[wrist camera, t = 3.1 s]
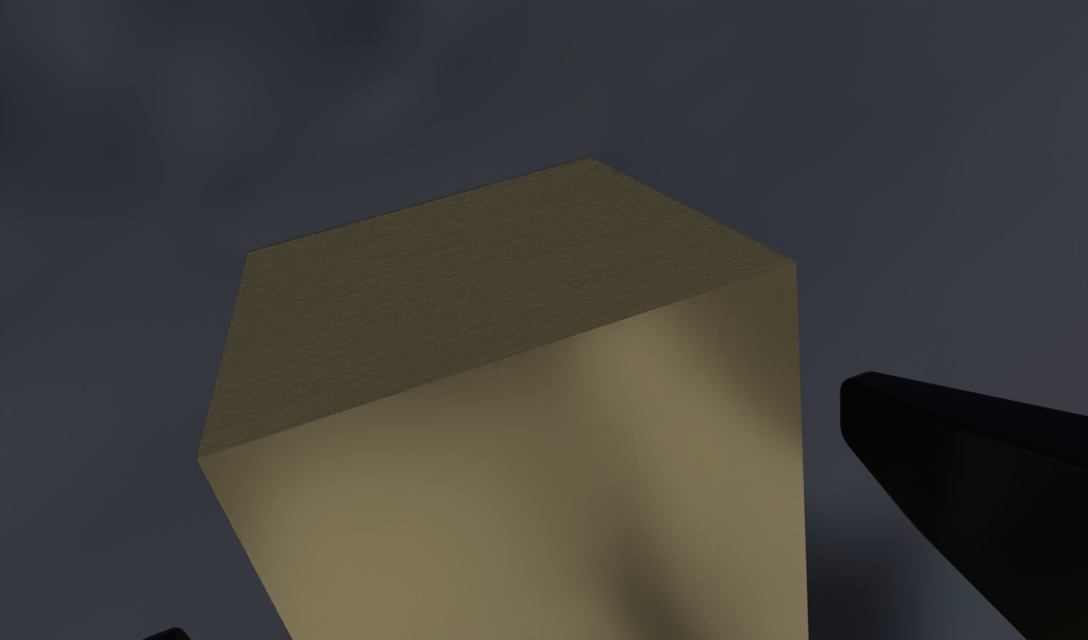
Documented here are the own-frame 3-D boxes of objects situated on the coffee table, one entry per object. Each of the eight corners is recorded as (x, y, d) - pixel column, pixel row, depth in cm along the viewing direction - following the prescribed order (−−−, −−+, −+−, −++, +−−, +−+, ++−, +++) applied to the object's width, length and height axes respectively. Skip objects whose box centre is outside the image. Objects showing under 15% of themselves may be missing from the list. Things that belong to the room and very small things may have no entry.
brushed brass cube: (590, 156, 12) (796, 262, 7) (634, 427, 15) (809, 648, 10) (248, 252, 11) (197, 458, 6) (362, 526, 14) (395, 833, 9)
